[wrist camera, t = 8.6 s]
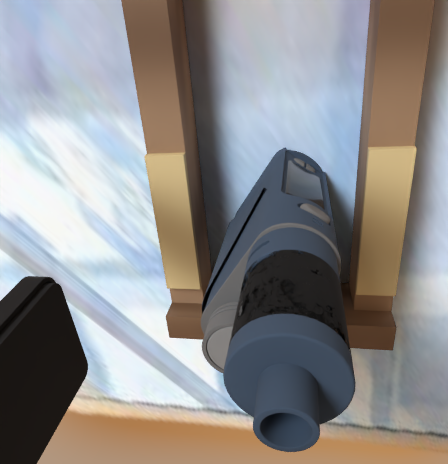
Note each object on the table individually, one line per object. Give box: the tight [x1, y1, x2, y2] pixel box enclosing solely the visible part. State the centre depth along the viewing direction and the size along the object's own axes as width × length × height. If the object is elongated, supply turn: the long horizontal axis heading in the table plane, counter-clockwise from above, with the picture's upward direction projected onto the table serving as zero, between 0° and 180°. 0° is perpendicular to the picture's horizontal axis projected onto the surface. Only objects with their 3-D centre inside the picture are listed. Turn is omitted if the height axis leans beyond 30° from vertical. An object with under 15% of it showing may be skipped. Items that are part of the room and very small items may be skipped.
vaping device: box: [201, 148, 355, 452], centre depth 12 cm, size 3×5×12 cm, turn 150°
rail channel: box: [121, 0, 435, 350], centre depth 13 cm, size 24×10×3 cm, turn 4°
